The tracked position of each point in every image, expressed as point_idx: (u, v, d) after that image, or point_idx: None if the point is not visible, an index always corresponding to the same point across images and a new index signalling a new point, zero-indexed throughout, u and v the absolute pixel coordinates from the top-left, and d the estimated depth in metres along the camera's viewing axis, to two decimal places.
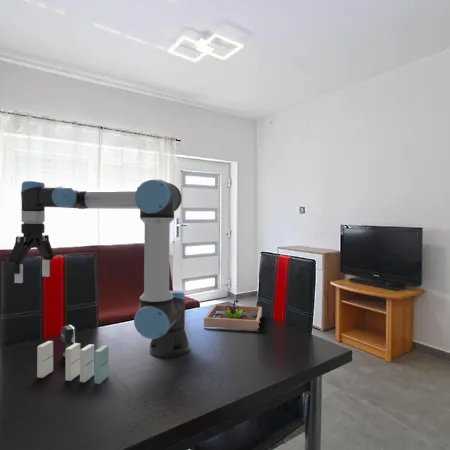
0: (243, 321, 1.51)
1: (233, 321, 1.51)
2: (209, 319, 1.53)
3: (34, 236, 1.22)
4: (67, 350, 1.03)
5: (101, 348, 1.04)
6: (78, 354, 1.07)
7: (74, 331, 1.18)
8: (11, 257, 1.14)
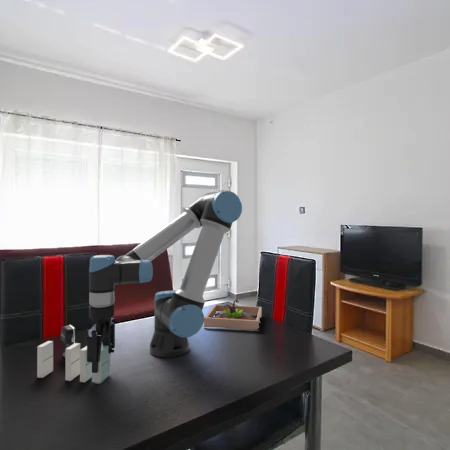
0: (243, 321, 1.51)
1: (233, 321, 1.51)
2: (209, 319, 1.53)
3: (104, 320, 1.03)
4: (67, 350, 1.03)
5: (101, 348, 1.04)
6: (78, 354, 1.07)
7: (74, 331, 1.18)
8: (89, 356, 0.98)
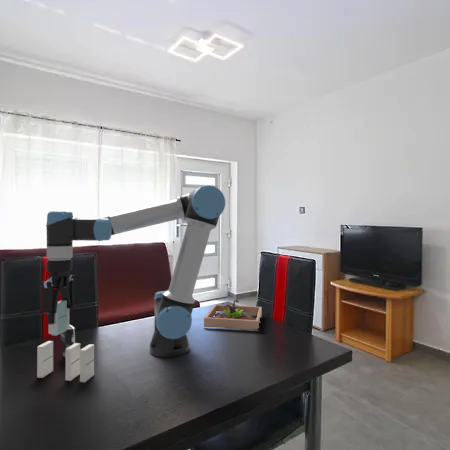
0: (243, 321, 1.51)
1: (233, 321, 1.51)
2: (209, 319, 1.53)
3: (61, 274, 1.05)
4: (67, 350, 1.03)
5: (59, 302, 1.06)
6: (78, 354, 1.07)
7: (74, 331, 1.18)
8: (44, 307, 1.00)
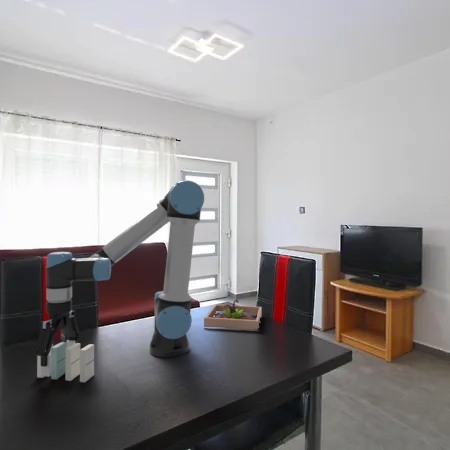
0: (243, 321, 1.51)
1: (233, 321, 1.51)
2: (209, 319, 1.53)
3: (61, 316, 1.05)
4: (67, 350, 1.03)
5: (58, 344, 1.06)
6: (78, 354, 1.07)
7: None
8: (38, 349, 0.98)
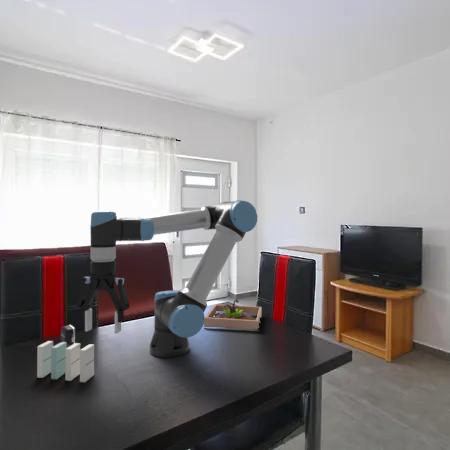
0: (243, 321, 1.51)
1: (233, 321, 1.51)
2: (209, 319, 1.53)
3: (99, 276, 1.02)
4: (67, 350, 1.03)
5: (58, 344, 1.06)
6: (78, 354, 1.07)
7: (74, 331, 1.18)
8: None
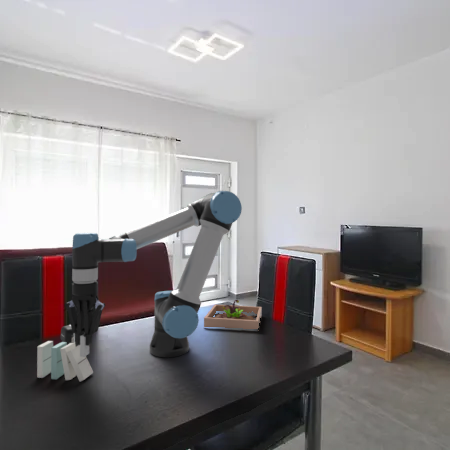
0: (243, 321, 1.51)
1: (233, 321, 1.51)
2: (209, 319, 1.53)
3: (81, 297, 1.03)
4: (62, 350, 1.03)
5: (58, 344, 1.06)
6: None
7: None
8: None
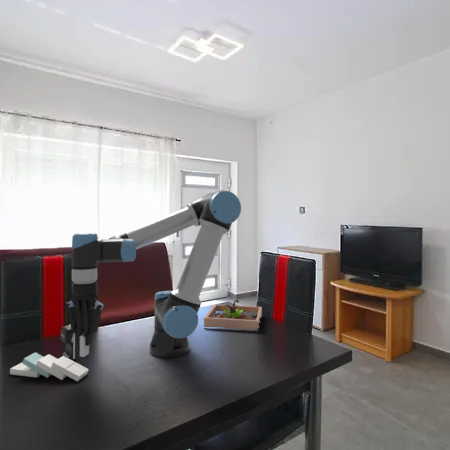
0: (243, 321, 1.51)
1: (233, 321, 1.51)
2: (209, 319, 1.53)
3: (80, 297, 1.04)
4: (37, 364, 1.05)
5: None
6: (54, 359, 1.08)
7: None
8: None
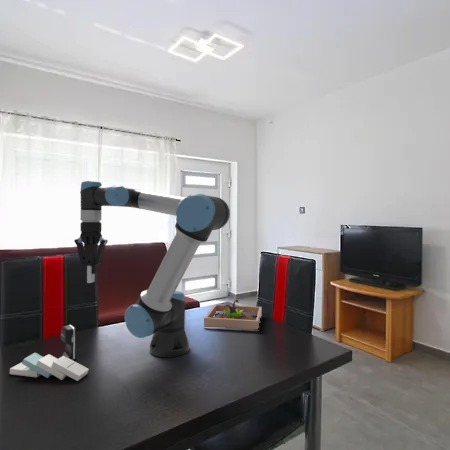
0: (243, 321, 1.51)
1: (233, 321, 1.51)
2: (209, 319, 1.53)
3: (88, 234, 1.26)
4: (37, 364, 1.05)
5: None
6: (54, 359, 1.08)
7: (74, 331, 1.18)
8: None
